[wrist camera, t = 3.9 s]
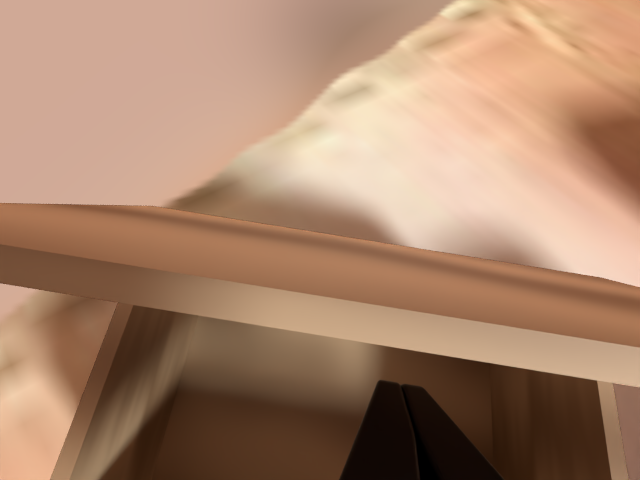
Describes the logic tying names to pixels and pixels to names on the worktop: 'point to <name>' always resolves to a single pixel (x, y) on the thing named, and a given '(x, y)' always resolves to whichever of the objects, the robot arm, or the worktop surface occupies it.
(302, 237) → the flap
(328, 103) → the worktop surface
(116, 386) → the light wood open box
